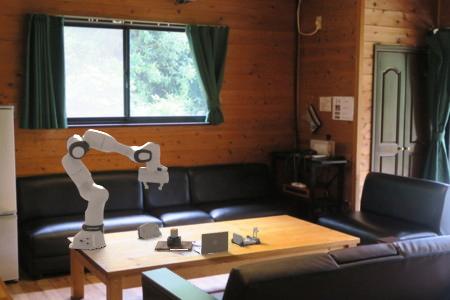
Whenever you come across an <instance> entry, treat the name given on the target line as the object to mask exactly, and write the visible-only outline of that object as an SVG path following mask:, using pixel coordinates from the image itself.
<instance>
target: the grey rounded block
mask: <svg viewBox="0 0 450 300" xmlns="http://www.w3.org/2000/svg"><path fill="white" fill-rule="evenodd" d="M157 235H160V236H163V235H162V232H161V230H160V228H159V224H158V223H156V222H146V223H144V224H141V225H139V226H138V227H137V237H141V238H142V239H143V238H146V239H148V238H147V237H151V238H153V237H152V236H155V237H158V236H157Z"/></svg>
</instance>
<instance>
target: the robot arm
mask: <svg viewBox="0 0 450 300" xmlns="http://www.w3.org/2000/svg"><path fill="white" fill-rule="evenodd" d="M65 146H66V147H65V148H66V152H67V154H65V155H64V156H63V157H62V159H61V165H62V167H63V168H64V170H65V172H66V174H67V175H68V176H69V178H70V179H71V180H72V182H73V183H74V184H75V186H76V188H77V190H78V192H79V195H80V197H82V199H84V200H86V201H88V203H87V208H86V210H85V212H84V223H82V225H81V229H82V230H79V232H78V233H76V234H75V235H74V236H73V239H72V242H70V244H69V246H68V248H69V249H77V250H88V249H89V250H92V249H93V250H97V249H102V248H105V247H106V246H107V243H106V240H105V223H104V210H105V205H106V202H107V201H108V200H109V196H110V194H109V190H107V189H106V188H105V187H103V186H102V185H98V184H97V183H95V182H94V180H93V178H92V173H91V171H89V169H88V168H87V166H86V165H85V164H84V163H83V161H82V160H81V159H83V158H85V156H86V155H87V153H88V152H89V151H90V150H91V149H95V150H97V151H100V152H103V153H113V152H115V153H118V154H120V155H123V156H125V157H127V158H128V159H129V160H130V161H131V162H133V163H137V164H145V163H146V164H145V165H146V166H145V167H144V166H141V167H139V168H138V175H137V176H138V177H137V181H138V182H141V183H143V185H144V189H146V190H149V185H148V184H147V183H156V184H159V186H158V190H159V191H162V189H163V188H162V187H163V186H164V184H168V183H169V181H170V180H169V179H170V177H169V172H168V167H167V166H164V165H163V164H161V161H160V158H161V147H160V144H159V143H157V142H154V141H153V142H151V141H147V143H145V144H144V145H142V146H138V145H137V146H136V145H132V146H130V145H126V144H123V143H121V142H118V141H117V140H116V138H115V137H113V136H112V135H110V134H108V133H106V132H102V131H99V130H96V129H88V130H86V131H85V132H84V134H83V135H82V136H81V135H79V134H71V135H70V136H68V138H67V139H66V143H65ZM104 246H105V247H104ZM101 247H102V248H101ZM96 248H97V249H96ZM89 250H88V251H89Z"/></svg>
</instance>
